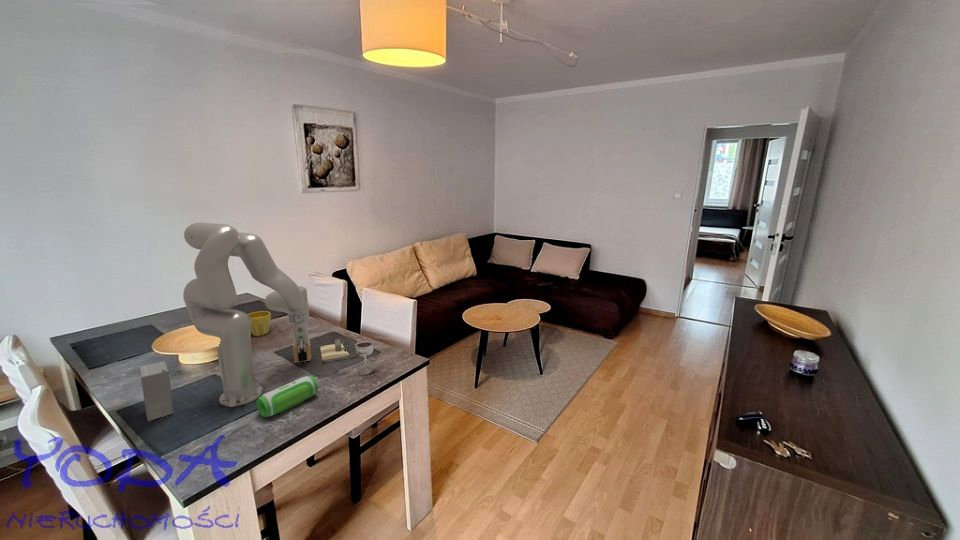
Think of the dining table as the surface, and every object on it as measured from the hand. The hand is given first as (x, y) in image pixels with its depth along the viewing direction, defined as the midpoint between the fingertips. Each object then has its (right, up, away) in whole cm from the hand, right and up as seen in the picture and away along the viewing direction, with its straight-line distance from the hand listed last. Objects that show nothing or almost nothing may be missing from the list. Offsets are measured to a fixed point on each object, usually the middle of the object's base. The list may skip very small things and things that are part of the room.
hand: (302, 356), depth 155 cm
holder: (+13, 0, +7) cm, 14 cm away
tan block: (0, -1, 0) cm, 1 cm away
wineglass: (+29, -4, -8) cm, 30 cm away
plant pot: (-32, +5, +25) cm, 41 cm away
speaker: (+10, -9, -30) cm, 33 cm away
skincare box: (-28, -10, -36) cm, 47 cm away
